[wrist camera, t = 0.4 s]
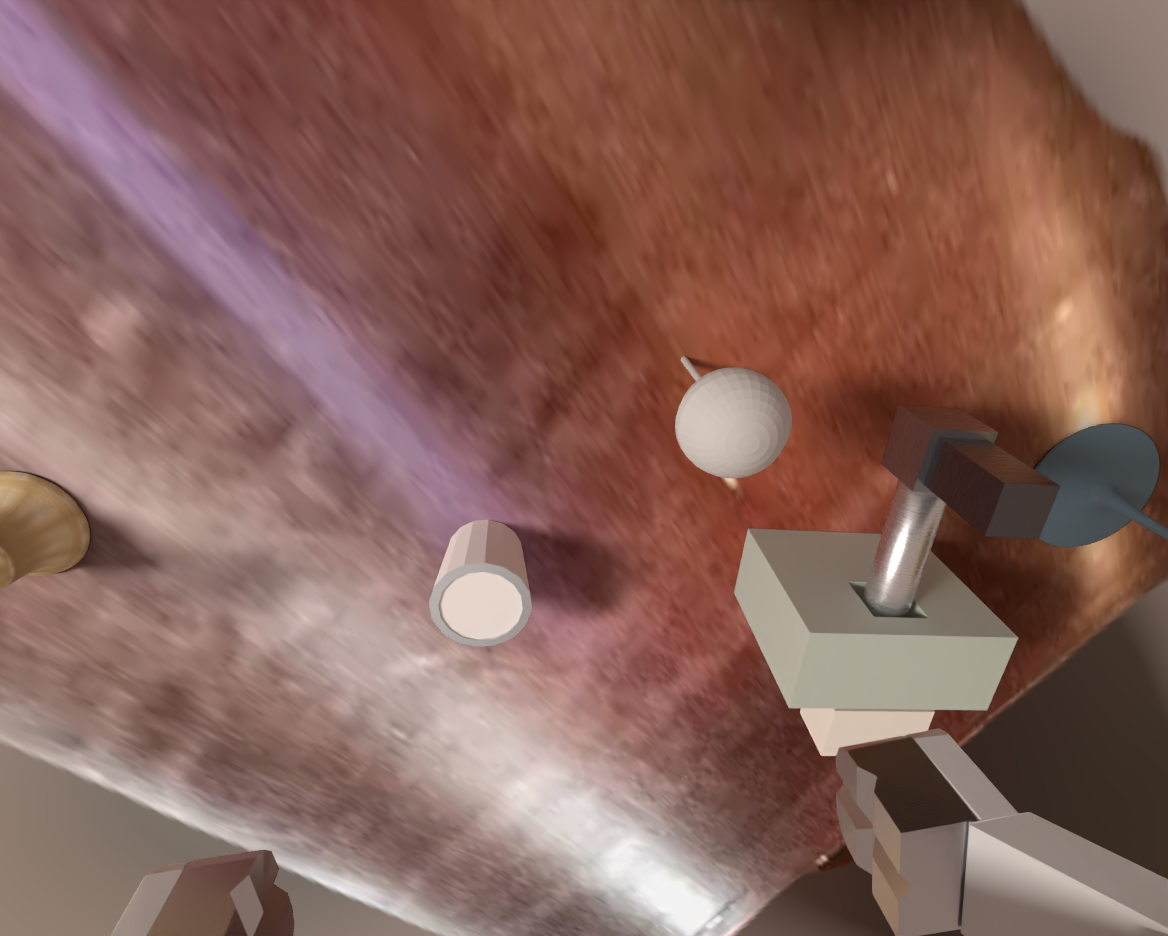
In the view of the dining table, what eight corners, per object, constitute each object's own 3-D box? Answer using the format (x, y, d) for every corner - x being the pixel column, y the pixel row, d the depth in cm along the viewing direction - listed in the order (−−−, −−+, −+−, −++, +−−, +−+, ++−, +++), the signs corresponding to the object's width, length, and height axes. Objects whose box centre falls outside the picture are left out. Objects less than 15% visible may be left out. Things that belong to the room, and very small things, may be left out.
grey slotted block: (748, 528, 54) (810, 632, 43) (914, 535, 56) (1018, 637, 44) (734, 592, 57) (788, 708, 45) (894, 597, 58) (987, 710, 47)
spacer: (812, 669, 50) (835, 711, 46) (904, 671, 50) (934, 711, 47) (799, 712, 51) (821, 755, 48) (889, 713, 52) (917, 755, 48)
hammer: (898, 404, 43) (999, 473, 34) (958, 408, 44) (1073, 477, 34) (807, 713, 53) (865, 829, 44) (856, 713, 54) (924, 828, 45)
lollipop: (627, 386, 48) (669, 480, 35) (657, 305, 46) (714, 372, 33) (709, 410, 50) (780, 510, 36) (741, 331, 48) (830, 406, 34)
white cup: (548, 556, 54) (552, 611, 47) (481, 604, 55) (475, 664, 49) (490, 495, 51) (486, 544, 45) (420, 547, 53) (406, 602, 46)
